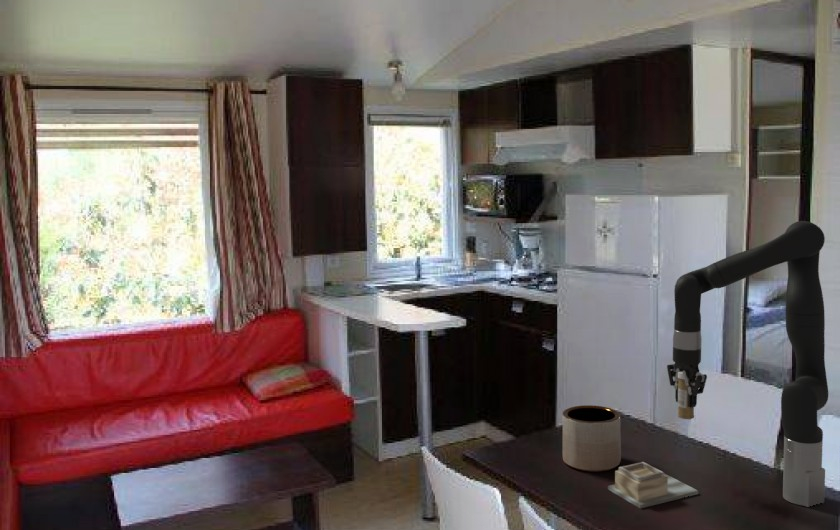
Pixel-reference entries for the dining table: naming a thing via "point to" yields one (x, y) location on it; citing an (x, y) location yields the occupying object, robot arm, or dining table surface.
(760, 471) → the dining table surface
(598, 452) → the planter
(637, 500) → the build base
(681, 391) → the sprinkles bottle
